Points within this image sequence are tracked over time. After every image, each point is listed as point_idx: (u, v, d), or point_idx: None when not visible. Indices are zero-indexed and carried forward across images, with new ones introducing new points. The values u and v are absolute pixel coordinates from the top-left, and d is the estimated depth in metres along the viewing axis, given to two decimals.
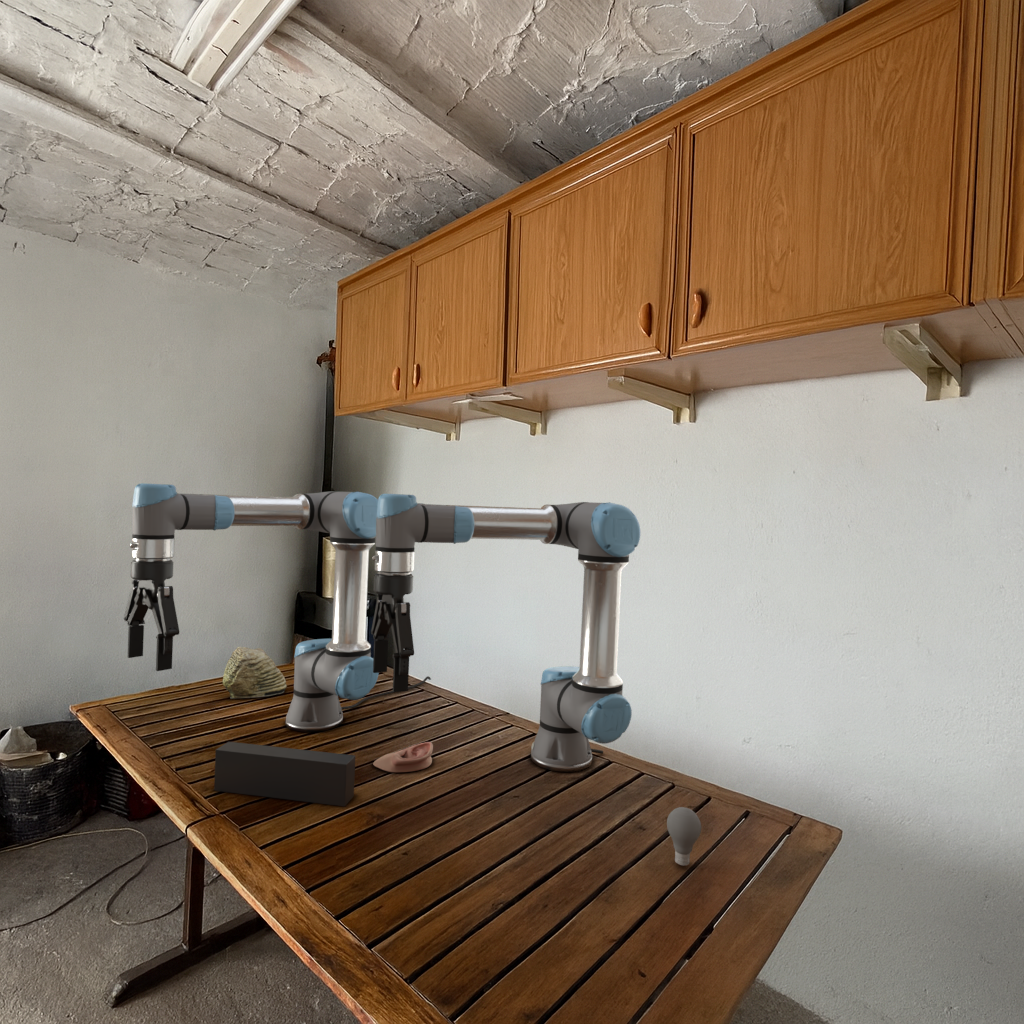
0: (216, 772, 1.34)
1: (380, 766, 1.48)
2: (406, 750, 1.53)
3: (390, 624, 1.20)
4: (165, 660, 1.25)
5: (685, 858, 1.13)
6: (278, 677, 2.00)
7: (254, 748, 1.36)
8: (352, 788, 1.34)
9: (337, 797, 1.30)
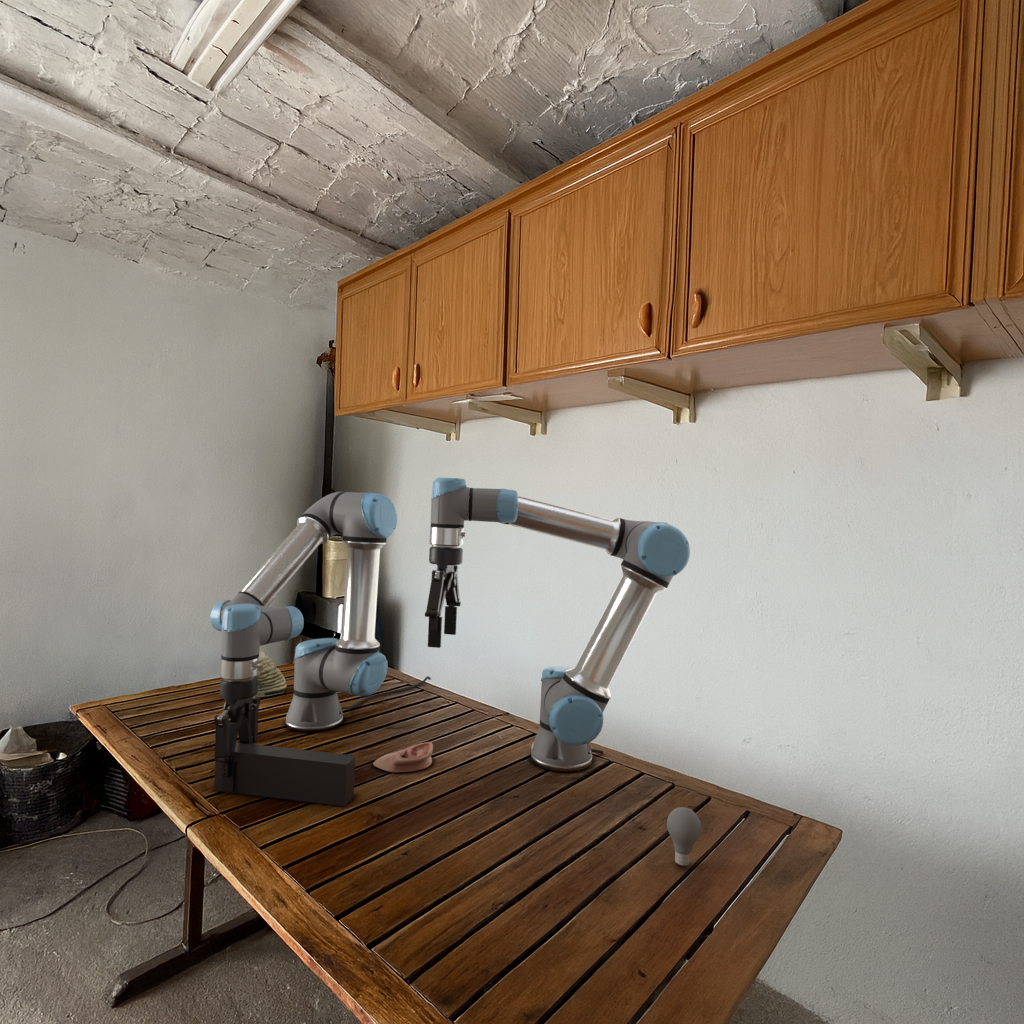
0: (216, 772, 1.34)
1: (380, 766, 1.48)
2: (406, 750, 1.53)
3: None
4: None
5: (685, 858, 1.13)
6: (278, 677, 2.00)
7: (254, 748, 1.36)
8: (352, 788, 1.34)
9: (337, 797, 1.30)
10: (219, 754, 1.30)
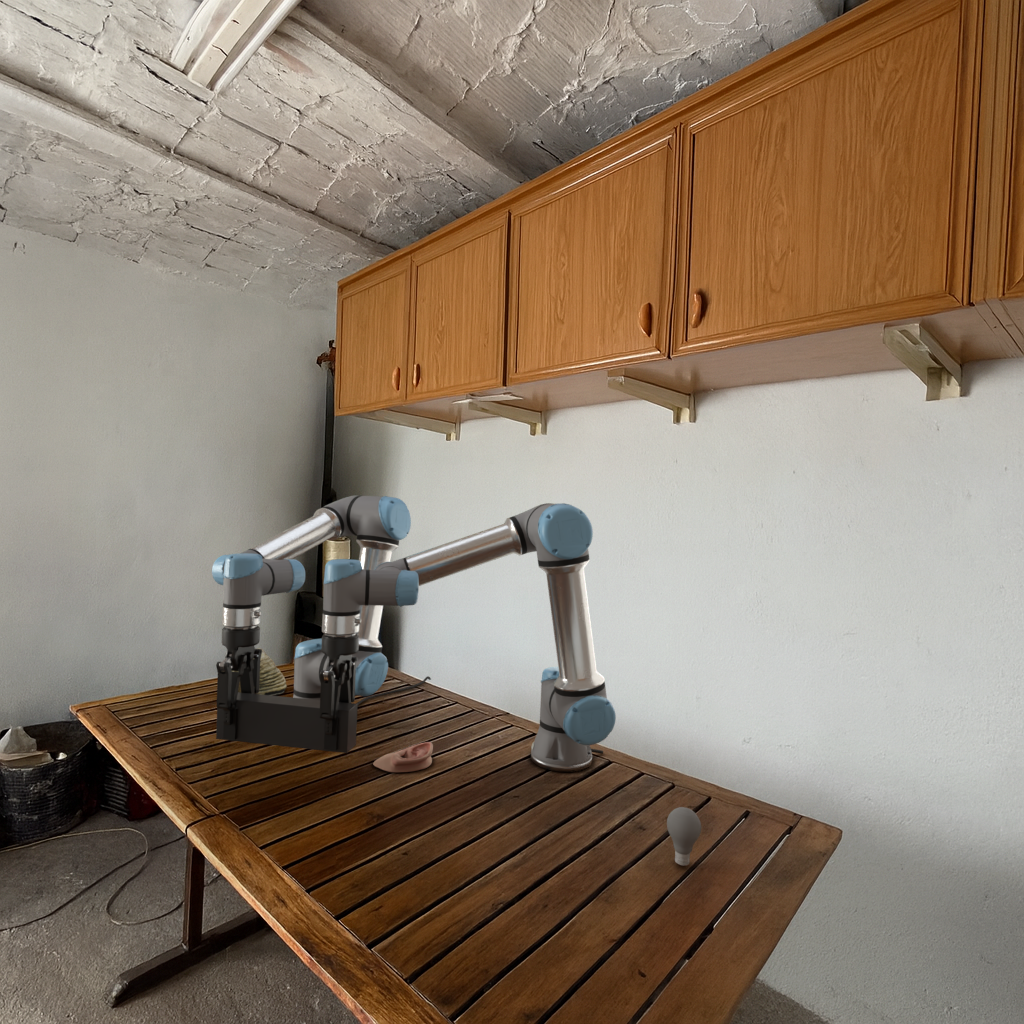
0: (218, 720, 1.34)
1: (380, 766, 1.48)
2: (406, 750, 1.53)
3: (349, 679, 1.34)
4: None
5: (685, 858, 1.13)
6: (278, 677, 2.00)
7: (256, 697, 1.36)
8: (354, 737, 1.34)
9: (340, 743, 1.30)
10: (221, 701, 1.30)
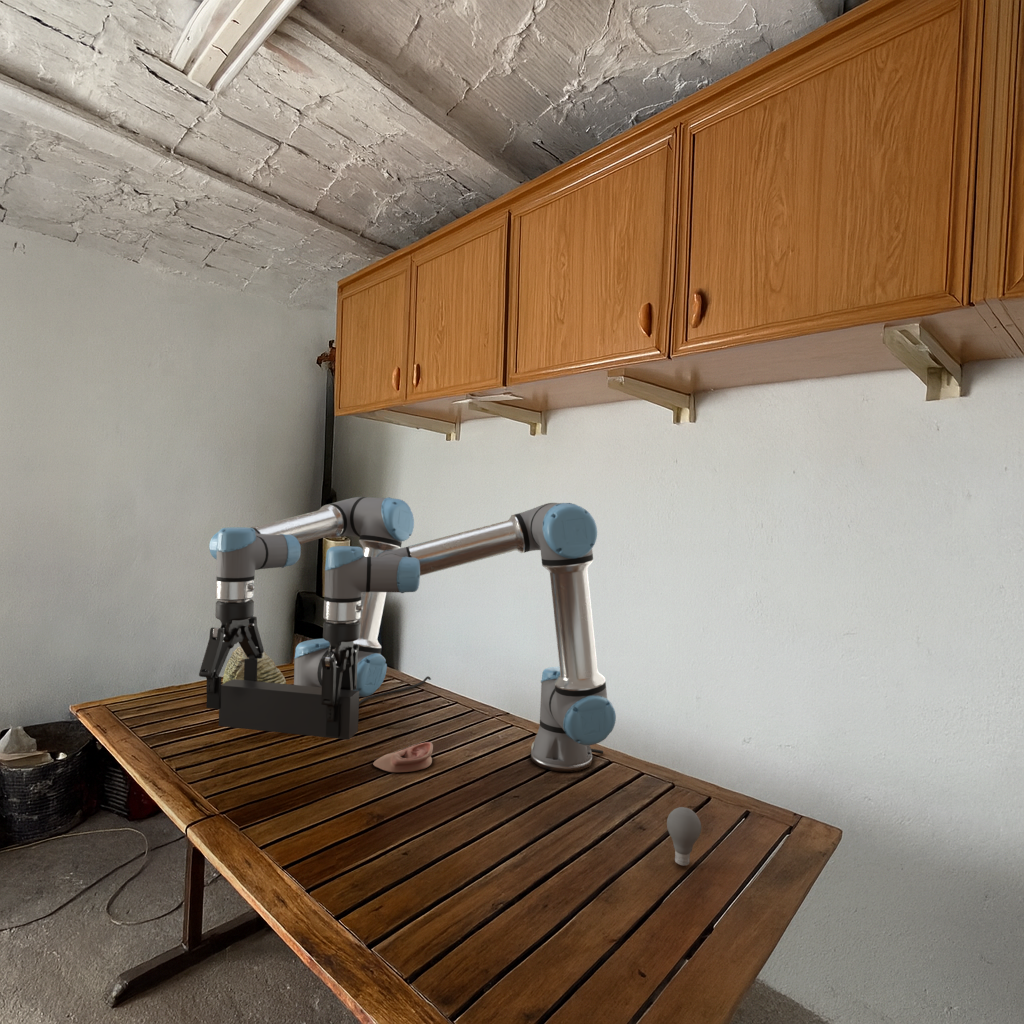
0: None
1: (380, 766, 1.48)
2: (406, 750, 1.53)
3: (350, 666, 1.34)
4: None
5: (685, 858, 1.13)
6: (278, 677, 2.00)
7: (258, 684, 1.36)
8: (356, 723, 1.33)
9: (341, 730, 1.30)
10: (205, 667, 1.27)
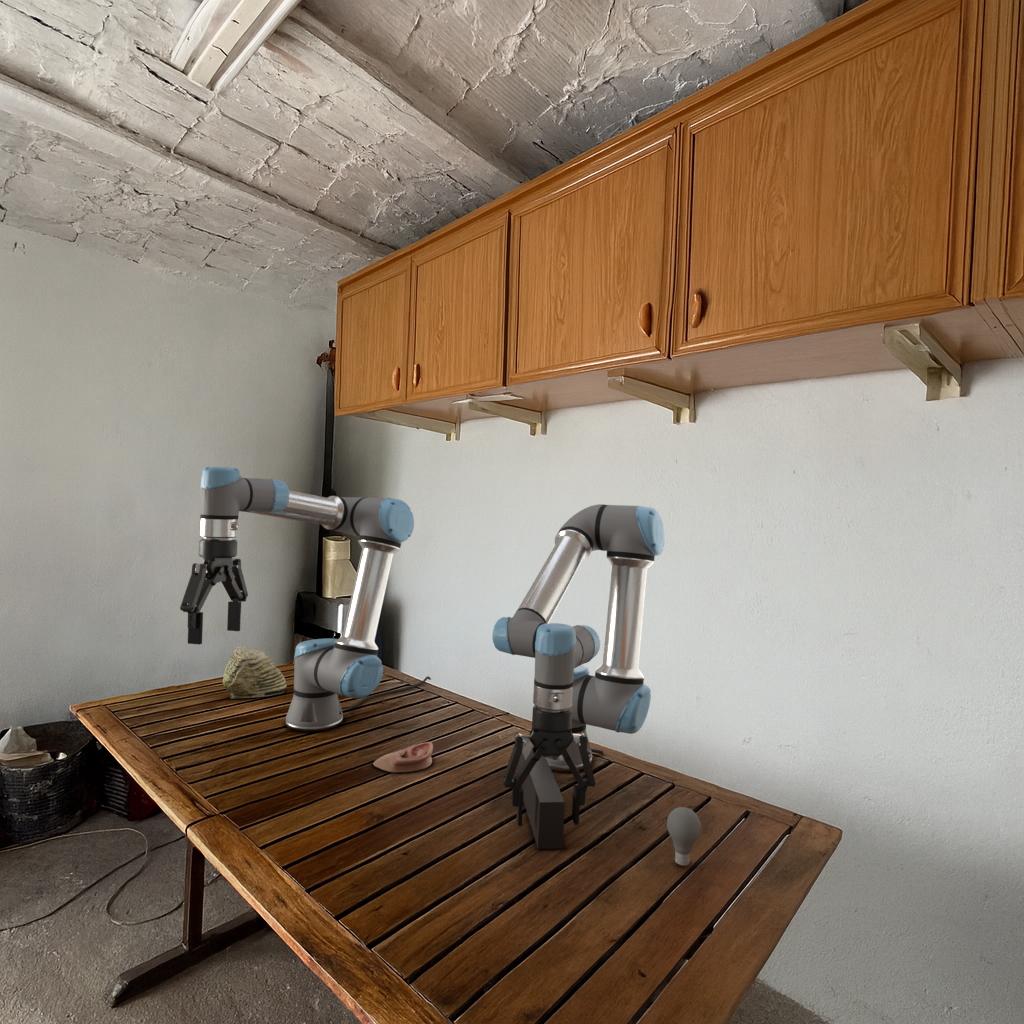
0: None
1: (380, 766, 1.48)
2: (406, 750, 1.53)
3: (567, 759, 1.20)
4: None
5: (685, 858, 1.13)
6: (278, 677, 2.00)
7: None
8: (558, 838, 1.18)
9: (536, 834, 1.19)
10: (187, 601, 1.27)
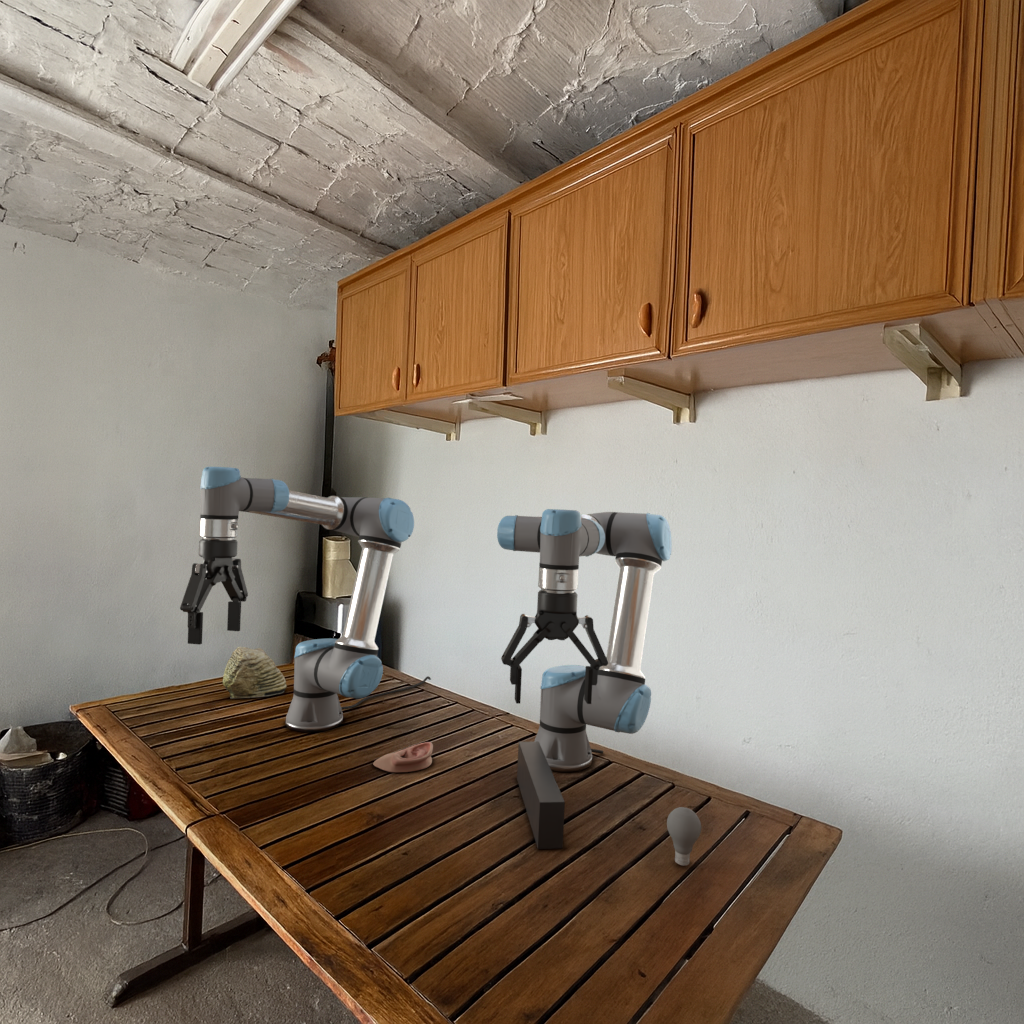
0: None
1: (380, 766, 1.48)
2: (406, 750, 1.53)
3: (575, 641, 1.19)
4: None
5: (685, 858, 1.13)
6: (278, 677, 2.00)
7: (534, 754, 1.39)
8: (558, 838, 1.18)
9: (536, 834, 1.19)
10: (187, 601, 1.27)
